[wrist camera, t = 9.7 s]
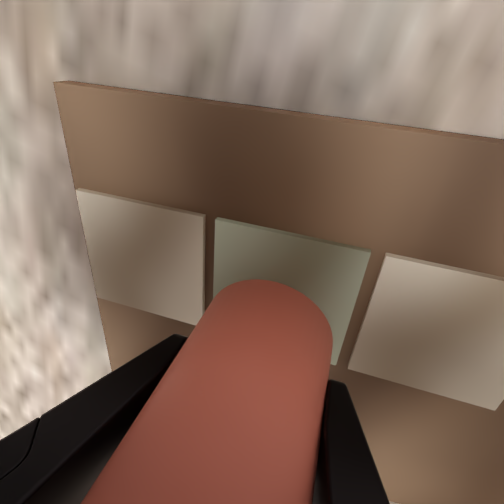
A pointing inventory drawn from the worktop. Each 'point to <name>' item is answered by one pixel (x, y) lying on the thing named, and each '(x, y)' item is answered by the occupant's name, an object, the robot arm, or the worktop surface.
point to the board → (312, 257)
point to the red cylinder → (231, 408)
